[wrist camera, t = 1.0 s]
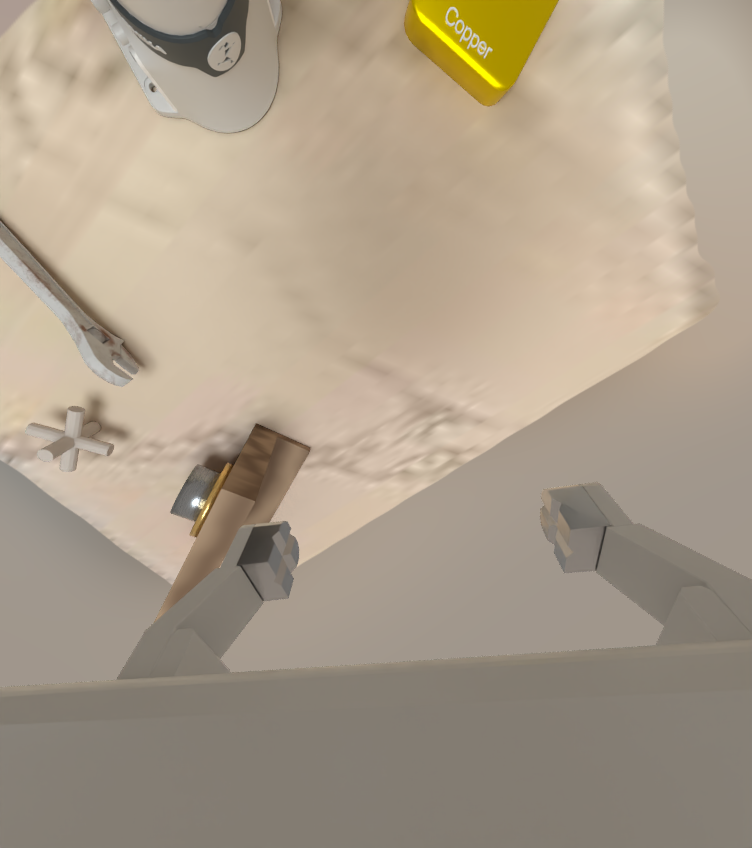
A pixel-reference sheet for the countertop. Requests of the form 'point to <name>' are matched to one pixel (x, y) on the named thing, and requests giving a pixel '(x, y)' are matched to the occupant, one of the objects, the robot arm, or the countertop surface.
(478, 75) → the element tile
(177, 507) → the door knob
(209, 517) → the board
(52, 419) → the countertop surface
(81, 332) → the wrench
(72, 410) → the pipe connector
